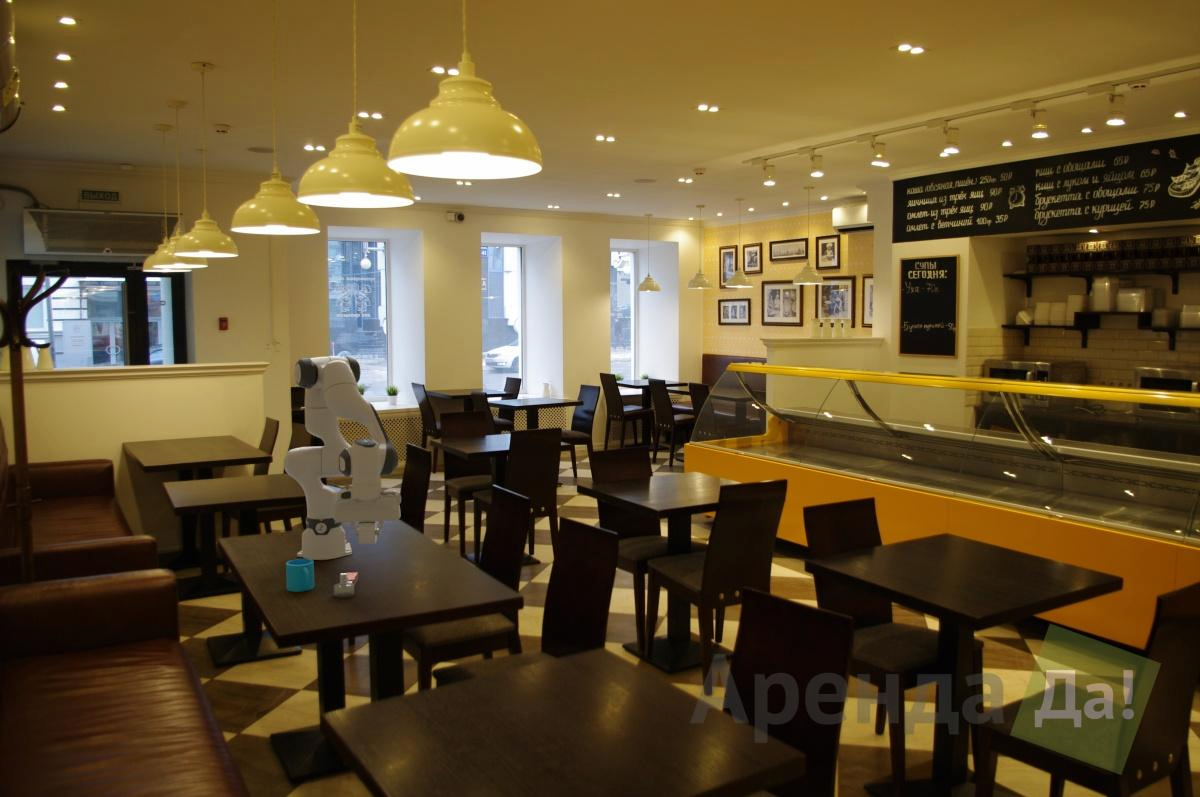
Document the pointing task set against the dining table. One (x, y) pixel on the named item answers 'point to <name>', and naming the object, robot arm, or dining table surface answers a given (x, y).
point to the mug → (300, 575)
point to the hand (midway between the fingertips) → (367, 535)
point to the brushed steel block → (367, 532)
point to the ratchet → (345, 585)
